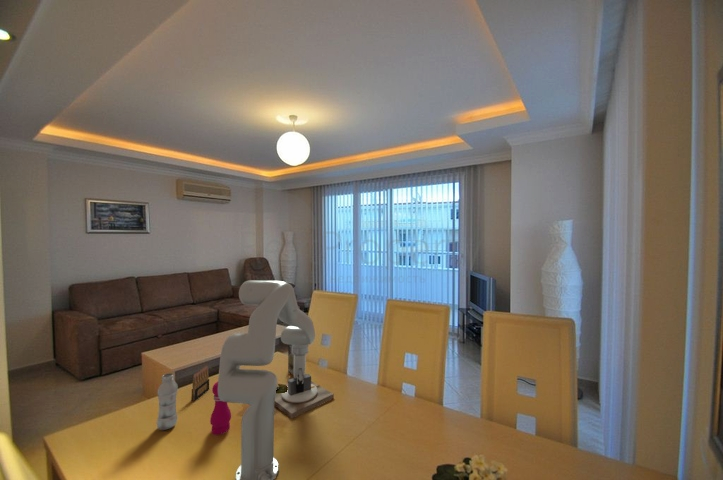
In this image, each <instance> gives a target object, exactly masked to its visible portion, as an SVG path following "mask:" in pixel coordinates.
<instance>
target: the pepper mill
mask: <svg viewBox="0 0 723 480" xmlns="http://www.w3.org/2000/svg"><path fill="white" fill-rule="evenodd" d="M211 393H212V394H213V400H214V408H213V410H212V413H211V415H210V421H209V422H210V425H211V434H212V435H215V436H216V435H217V436H218V435H219V436H220V435H223V434H225V433H227V432H229V430H230V427H231V425H230V421H231V419H232V413H231V409H230V407H229V406H228V402H223V401H221V400H220V399H219V396H218V381H216V382H215V383H214V384H213V386H212V392H211Z"/></svg>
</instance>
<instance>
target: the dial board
mask: <svg viewBox="0 0 723 480" xmlns="http://www.w3.org/2000/svg"><path fill="white" fill-rule="evenodd" d="M311 384H313V385H315V386H316V387H317V395H316V396H315V397H314V398H313V399H311V400H309V401H306V402H301V403H292V402H288V401H285V400H284V399H283V398H282V393H280V394H276V396H275V403H274V407H275V408H278V409H279V410H280V411H282V413H284V414H285V415H287V416H288V417H289V418H290V419H294V418H297V417H298V416H301V415H302V414H304V413H307V412H309V411H311V410H313V409H314V408H317V407H319V406H321V405H323V404H325V403H326V401H327V402H329V401H331V400H333V399H334V393H333V392H330V391H329V390H327V389H326V388H324V387H322V386H320V384H317V383H315V382H313V381H312V380H311ZM285 386H288V384H285ZM332 398H333V399H332ZM330 399H331V400H330ZM328 400H329V401H328ZM324 402H325V403H324ZM322 403H323V404H322ZM320 404H321V405H320ZM318 405H319V406H318ZM316 406H317V407H316Z"/></svg>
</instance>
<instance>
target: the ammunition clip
mask: <svg viewBox="0 0 723 480" xmlns="http://www.w3.org/2000/svg"><path fill="white" fill-rule="evenodd" d="M209 390H210V378H209V367H208V365H205V366H203V368H201V369H199V370H198V371H197V372H196V373H194V374H193V378H192V389H191V398H190V399H191V400H190V401H191V402H196V401H197V400H198V399H199V398H201V397H202V396H203V395H204V394H206V393H207V392H208V391H209Z"/></svg>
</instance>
